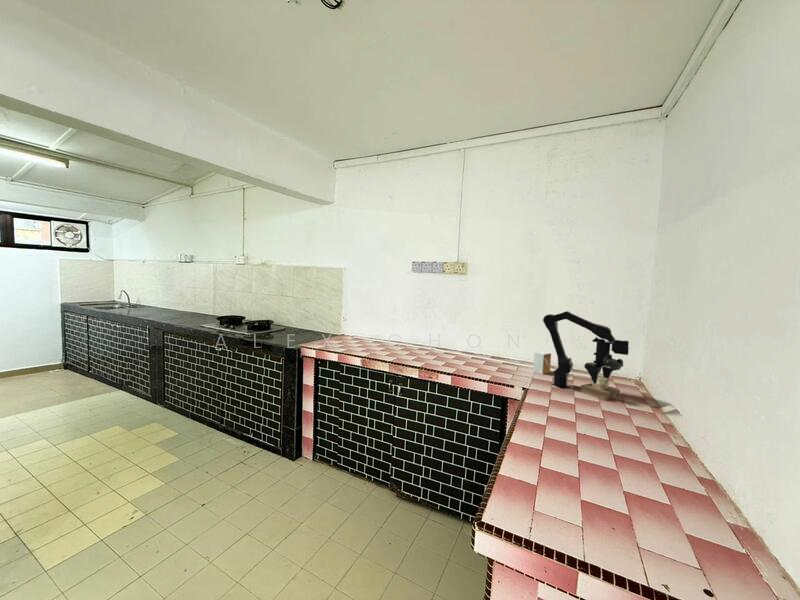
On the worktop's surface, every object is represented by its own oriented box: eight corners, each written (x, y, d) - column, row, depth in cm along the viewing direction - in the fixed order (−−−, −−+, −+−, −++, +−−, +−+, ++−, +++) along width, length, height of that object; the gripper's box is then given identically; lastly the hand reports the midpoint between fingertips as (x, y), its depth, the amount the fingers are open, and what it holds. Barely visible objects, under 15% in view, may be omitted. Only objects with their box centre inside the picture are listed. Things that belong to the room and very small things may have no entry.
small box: (542, 376, 181) (543, 354, 181) (532, 373, 187) (534, 352, 186) (550, 374, 186) (551, 353, 185) (540, 371, 191) (541, 351, 190)
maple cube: (602, 389, 150) (603, 379, 149) (592, 386, 154) (592, 376, 154) (608, 388, 152) (609, 378, 151) (597, 385, 156) (598, 375, 156)
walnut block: (604, 401, 145) (605, 393, 145) (580, 392, 156) (580, 385, 156) (619, 398, 150) (620, 390, 150) (594, 389, 161) (595, 382, 161)
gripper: (608, 356, 141) (605, 389, 141) (631, 354, 149) (628, 385, 150) (584, 351, 151) (582, 382, 151) (607, 349, 159) (605, 378, 160)
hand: (600, 382), depth 153 cm, fingers open, 9 cm apart
